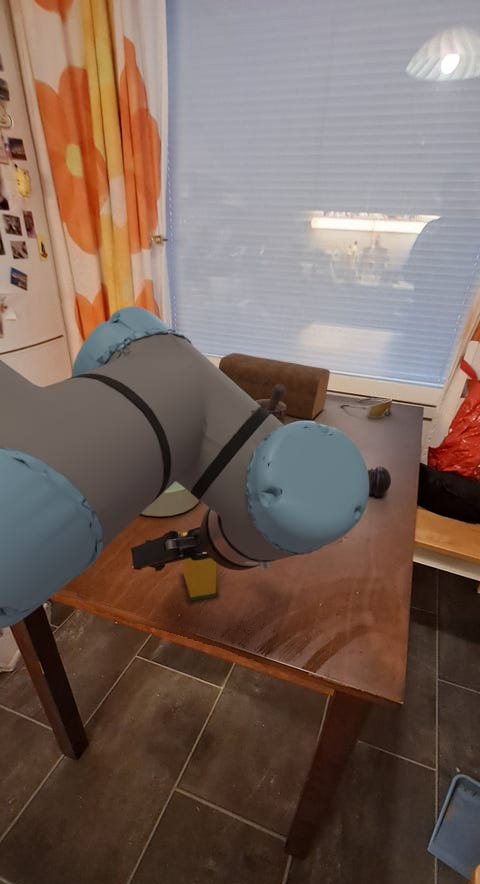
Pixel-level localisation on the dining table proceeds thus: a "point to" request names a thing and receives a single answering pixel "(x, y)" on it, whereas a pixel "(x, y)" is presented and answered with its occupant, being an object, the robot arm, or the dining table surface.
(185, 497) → the bowl
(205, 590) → the sponge
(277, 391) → the mortar and pestle
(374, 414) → the sunglasses
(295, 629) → the dining table surface
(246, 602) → the dining table surface
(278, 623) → the dining table surface
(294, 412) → the bread
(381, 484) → the figurine
